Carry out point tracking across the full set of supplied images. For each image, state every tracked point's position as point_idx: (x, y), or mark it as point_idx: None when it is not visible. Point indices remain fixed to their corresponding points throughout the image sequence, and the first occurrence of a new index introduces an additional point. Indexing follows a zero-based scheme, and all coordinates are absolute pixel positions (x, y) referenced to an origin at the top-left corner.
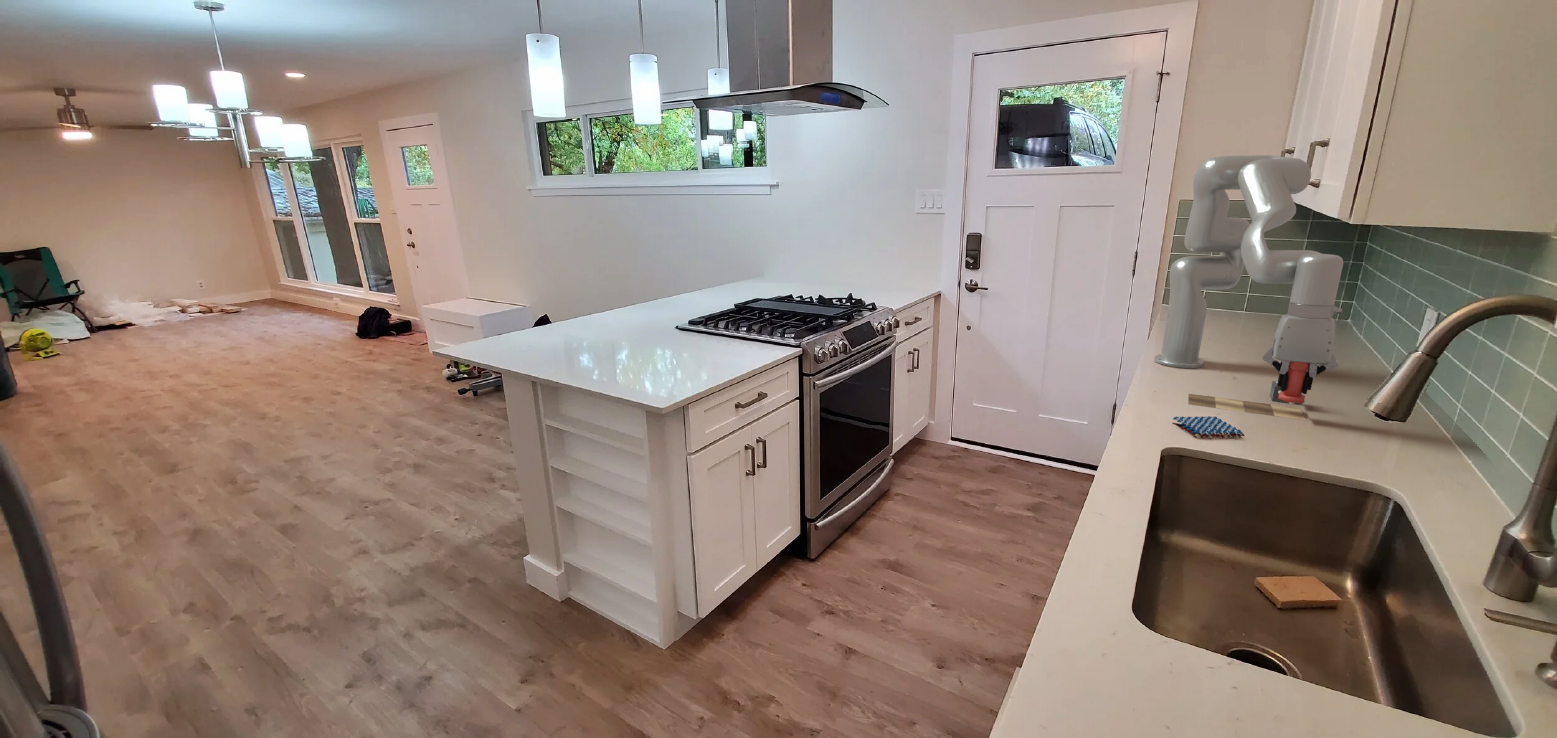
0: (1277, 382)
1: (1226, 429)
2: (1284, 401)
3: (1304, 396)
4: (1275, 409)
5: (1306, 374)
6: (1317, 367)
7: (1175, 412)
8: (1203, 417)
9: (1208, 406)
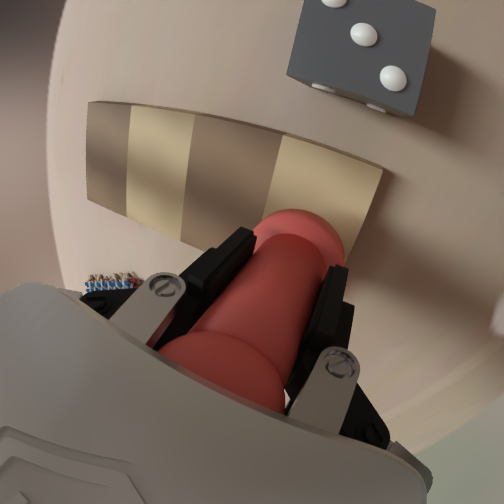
0: (208, 249)
1: None
2: (350, 97)
3: None
4: (276, 202)
5: (292, 375)
6: (345, 428)
7: (86, 224)
8: (113, 285)
9: (114, 208)
